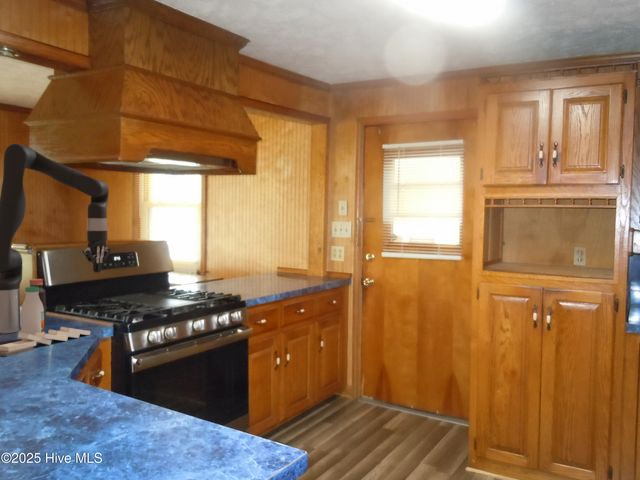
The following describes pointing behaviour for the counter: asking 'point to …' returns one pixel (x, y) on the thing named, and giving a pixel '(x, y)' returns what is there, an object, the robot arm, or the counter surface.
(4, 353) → the domino
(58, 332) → the domino
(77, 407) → the counter surface
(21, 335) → the domino
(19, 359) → the counter surface
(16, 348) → the domino
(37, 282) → the vinegar
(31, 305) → the milk bottle
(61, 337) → the domino
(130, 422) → the counter surface
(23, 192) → the robot arm
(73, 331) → the domino
